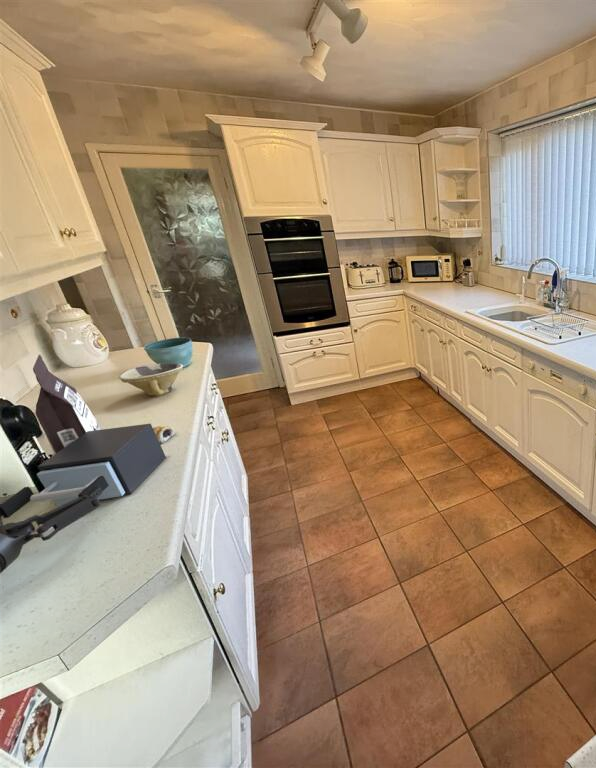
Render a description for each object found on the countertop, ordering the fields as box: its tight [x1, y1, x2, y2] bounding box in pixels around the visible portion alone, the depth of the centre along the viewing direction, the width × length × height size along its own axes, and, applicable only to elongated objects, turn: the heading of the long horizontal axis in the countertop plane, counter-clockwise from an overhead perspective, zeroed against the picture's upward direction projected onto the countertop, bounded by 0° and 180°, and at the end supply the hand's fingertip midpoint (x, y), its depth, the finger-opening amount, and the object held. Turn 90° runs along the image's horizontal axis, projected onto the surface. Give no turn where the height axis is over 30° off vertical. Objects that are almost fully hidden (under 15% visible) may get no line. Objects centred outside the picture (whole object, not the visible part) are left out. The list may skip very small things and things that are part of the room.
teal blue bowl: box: [143, 337, 194, 368], centre depth 172 cm, size 16×16×11 cm
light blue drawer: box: [29, 460, 125, 507], centre depth 92 cm, size 21×13×9 cm, turn 15°
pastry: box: [152, 425, 176, 444], centre depth 116 cm, size 9×7×4 cm
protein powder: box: [32, 354, 102, 455], centre depth 104 cm, size 16×9×28 cm, turn 44°
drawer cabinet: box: [37, 423, 167, 496], centre depth 97 cm, size 16×14×11 cm
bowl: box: [118, 363, 184, 397], centre depth 147 cm, size 18×18×10 cm
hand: (67, 486), depth 85 cm, fingers open, 12 cm apart
